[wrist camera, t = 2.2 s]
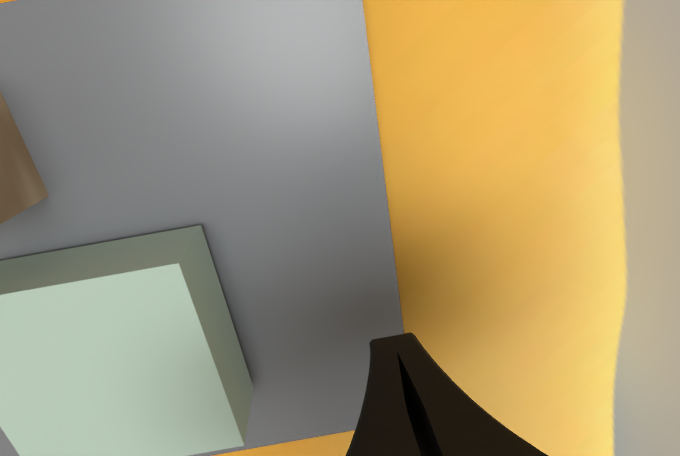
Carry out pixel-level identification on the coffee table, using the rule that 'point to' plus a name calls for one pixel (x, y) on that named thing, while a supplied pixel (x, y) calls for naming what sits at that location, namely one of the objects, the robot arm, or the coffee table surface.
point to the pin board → (221, 173)
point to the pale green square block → (120, 351)
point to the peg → (16, 170)
